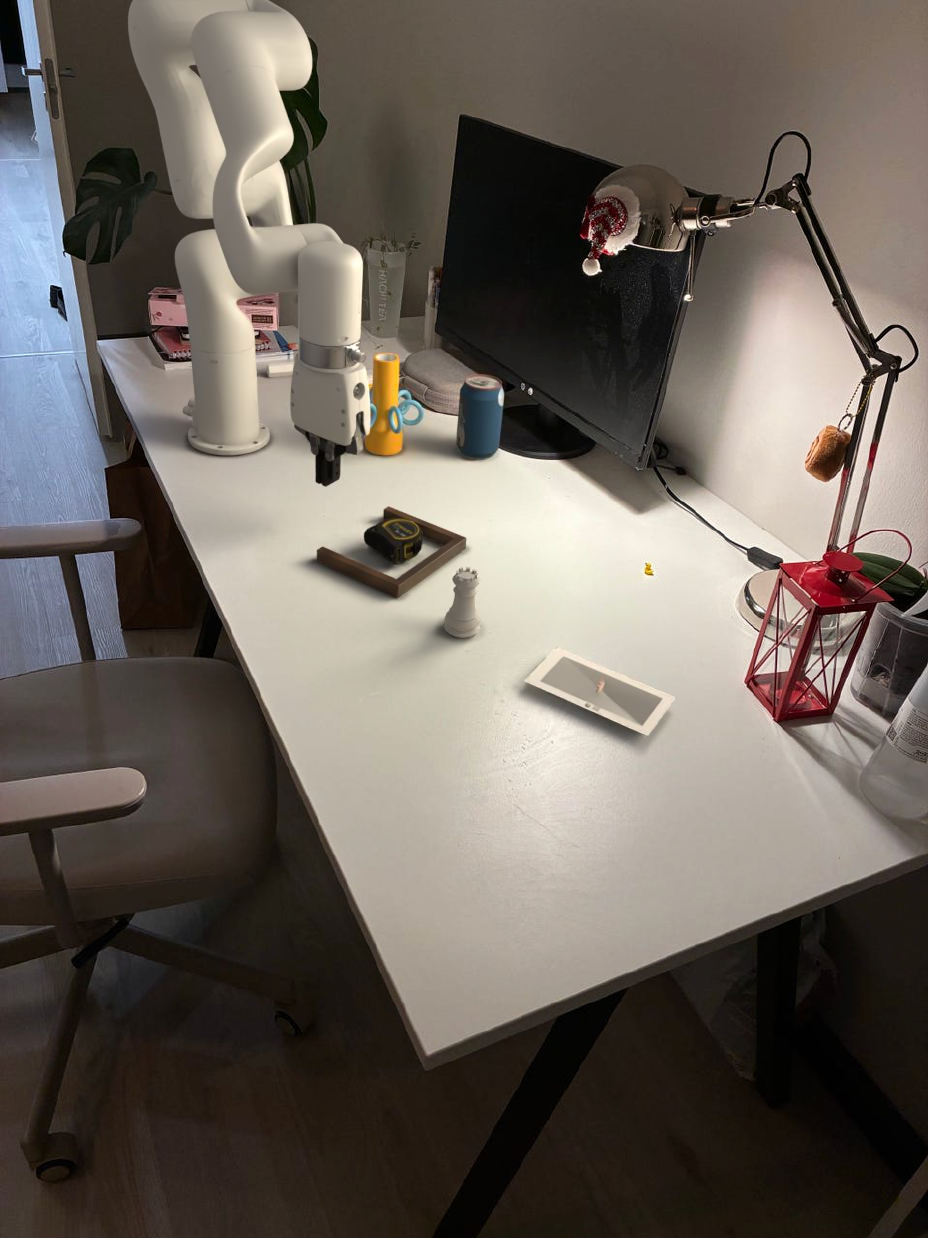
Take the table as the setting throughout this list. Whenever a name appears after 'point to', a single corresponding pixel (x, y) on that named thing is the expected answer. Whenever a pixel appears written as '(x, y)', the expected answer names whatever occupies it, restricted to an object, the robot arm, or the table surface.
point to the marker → (280, 369)
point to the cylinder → (388, 407)
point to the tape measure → (395, 539)
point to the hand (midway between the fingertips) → (327, 480)
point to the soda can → (479, 416)
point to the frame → (410, 578)
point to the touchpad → (601, 690)
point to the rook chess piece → (463, 605)
